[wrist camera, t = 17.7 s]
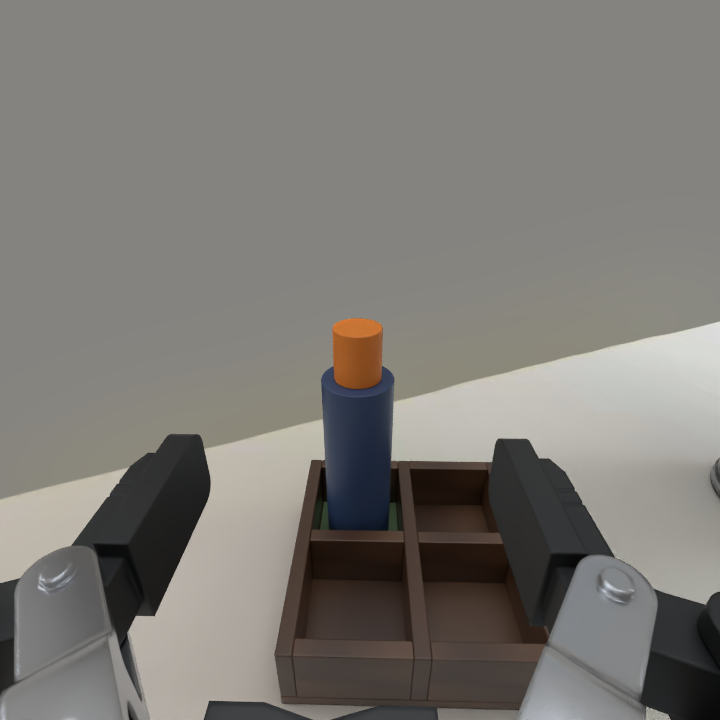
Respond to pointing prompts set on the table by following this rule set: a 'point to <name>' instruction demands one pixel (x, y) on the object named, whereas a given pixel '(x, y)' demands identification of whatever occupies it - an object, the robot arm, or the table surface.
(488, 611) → the organizer
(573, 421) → the table surface
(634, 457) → the table surface
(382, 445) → the bottle
